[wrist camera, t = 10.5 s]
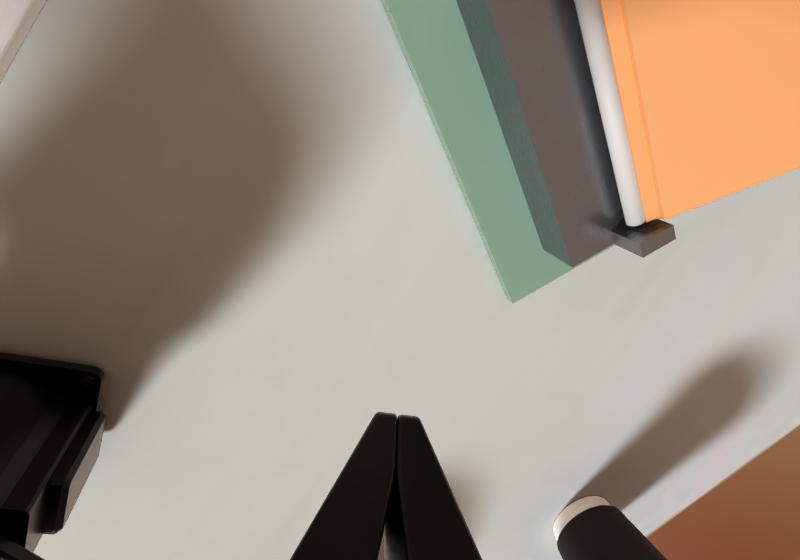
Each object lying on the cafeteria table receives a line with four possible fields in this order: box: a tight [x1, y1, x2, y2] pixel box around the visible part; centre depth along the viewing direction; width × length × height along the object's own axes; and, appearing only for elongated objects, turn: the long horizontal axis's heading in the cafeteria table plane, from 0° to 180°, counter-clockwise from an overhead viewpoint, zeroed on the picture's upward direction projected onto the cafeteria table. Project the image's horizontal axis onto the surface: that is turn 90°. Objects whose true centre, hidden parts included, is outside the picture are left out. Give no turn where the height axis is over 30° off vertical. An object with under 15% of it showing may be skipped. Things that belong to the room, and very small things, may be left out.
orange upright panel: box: [574, 0, 800, 226], centre depth 15 cm, size 2×10×11 cm
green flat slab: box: [381, 0, 661, 303], centre depth 20 cm, size 22×16×1 cm
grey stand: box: [456, 0, 676, 268], centre depth 15 cm, size 17×12×10 cm
